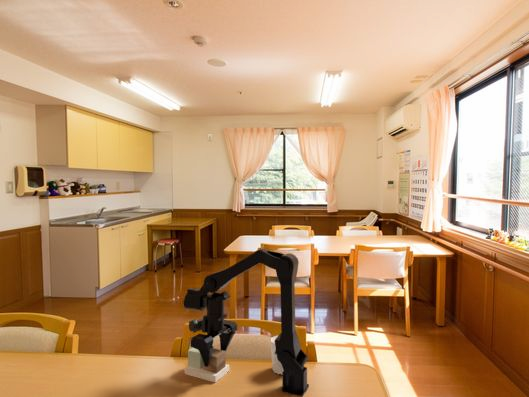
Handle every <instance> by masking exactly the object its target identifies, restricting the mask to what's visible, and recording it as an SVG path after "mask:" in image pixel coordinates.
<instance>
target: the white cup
mask: <svg viewBox="0 0 529 397" xmlns="http://www.w3.org/2000/svg"><path fill="white" fill-rule="evenodd" d="M278 336H279V335H275V336H272V337H271V339H270V353H271V365H272V366H271V367H272V372H273V371H274V372H273V373H275V374H276V373H277V375H279V374H281V376H282V372H283V371H284V370H283V367H282V364H281V363H280V362H279V361H278V359H277V354H275V351H276V347H275V339H276V338H277V337H278Z"/></svg>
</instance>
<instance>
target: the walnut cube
mask: <svg viewBox="0 0 529 397" xmlns="http://www.w3.org/2000/svg"><path fill="white" fill-rule="evenodd" d="M226 352H227V350H226V351H223V350H221V349H217V348H214V347H213V351H212V355H211V359H210V363H209V366H208V367H205V365H204V370H206V371H210V372H213V373H218V372H219V371H221V370H222V369H223V368H224V367H226V364H227V362H226V359H227V358H226V357H227V356H226Z"/></svg>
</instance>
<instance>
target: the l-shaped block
mask: <svg viewBox="0 0 529 397" xmlns="http://www.w3.org/2000/svg"><path fill="white" fill-rule="evenodd" d="M228 371H229V372H230V364H228V363H226V367H224V368H223V369H222V370H221V371H219V372H218V373H213V372H210V371H206V370H204V362H203V360H202V357H201V354H200V352H199V350H198V349H195V348H193V347H190V348H189V349H188V350H187V366H185V367H184V375H188V376H191V377H194V378H199V379H201V380H204V381H208V382H212V383H215V384H216V383H217V382H218V381H219V380H221V379H222V378H223V377H224V376H225V375H227V374H228V373H229V372H228ZM227 372H228V373H227ZM224 374H225V375H224Z"/></svg>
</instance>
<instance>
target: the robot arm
mask: <svg viewBox="0 0 529 397" xmlns="http://www.w3.org/2000/svg"><path fill="white" fill-rule="evenodd" d="M260 264H262V265H264V266H266V267H268V268H270V269H273V270H275V272H276V277H277V280H278V284H279V286H280V325H281V326H280V330H281V331H280V333H279V334H278V335H277V336H278V337H277V338H276V339H275V347H276V351H275V354H277V359H278V361H279V362H280V363H281V364H282V367H283V370H284V371H283V372H282V375H281V376H282V377H281V378H282V379H281V380H282V381H281V382H282V384H281V385H282V388H281V391H282V392H283V393H286V394H291V395H293V396H298V397H304V395H305V393H306V391H307V390H308V388H309V387H310V384H309V383H308V367H307V366H305V365H306V363H307V361H308V358H309V357H308V355H307V354H306V353H305V351H303V349H302V348H301V343H300V339H299V335H298V333H297V331H296V299H295V298H296V296H295V294H296V293H295V292H296V291H295V289H296V288H295V284H296V279H297V274H298V269H299V259H298V257H297V256H296V255H295V254H293V253H290V252H289V253H282V252H277V251H273V250H269V249H266V248H260V249H257V250H255V251H254V252H253V253H252V254H249V255H248V256H247V257H244V258H243V259H241V260H240V261H237V262H236V263H234V264H233V265H231V266H229V267H227V268H224V269H221V270H219V271H216V272H214V273H211V274H208V275H206V276H205V277H204V280H203V285H202V286H201V287H200V289H198V288H194V287H190V288H187V293H186V294H185V296H184V299H183V307H184V309H186V310H191V311H204V310H205V309H206V312H205V313H206V314H205V315H203V316H202V318H200V319H192V320H190V321H189V322H188V329H189V331H190V332H192V333H193V334H194V333H197V332H200V331H201V333H198V334H196V335H195V336H193V337H191V339H190V340H189V343H190V344H189V346H190V348H195V349H198V350H199V352H200V354H201V357H202V360H203V362H204V365H205V367H208V366H209V363H210V359H211V355H212V351H213V348H214V346H213V344H214V339H215V338H217V337H219V343H220V345H219V347H220V348H219V349H220V350H223V351H226V352H227V350H228V349H229V348H228V347H229V346H230V344H231V342H232V339H233V337H234V335H235V334H236V332H237V331H238V324H237V323H236V321H233V320H226V318H227V316H228V314H227V313H225V301H227V300H229V299H230V298H231V295H230V294H229V293H228V292H227V290H224V291H222V292H218V291H220V290H222V289H224V288H225V287H227V286H228V285H229V284H230V283H232V281H233V280H234V279H235V278H237V277H238V276H240V275H241V274H243V273H245V272H247V271H249V270H251V269H252V268H255V266H257V265H260ZM203 333H204V334H203ZM205 333H206V334H205Z"/></svg>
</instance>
